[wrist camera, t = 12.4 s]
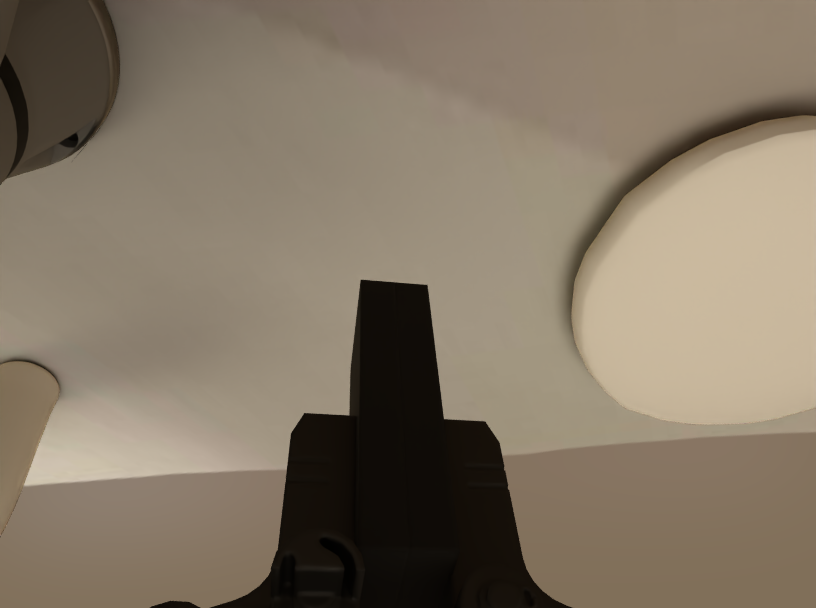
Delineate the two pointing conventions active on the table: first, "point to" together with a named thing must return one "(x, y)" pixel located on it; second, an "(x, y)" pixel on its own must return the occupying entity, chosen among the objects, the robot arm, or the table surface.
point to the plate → (709, 283)
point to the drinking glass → (21, 426)
